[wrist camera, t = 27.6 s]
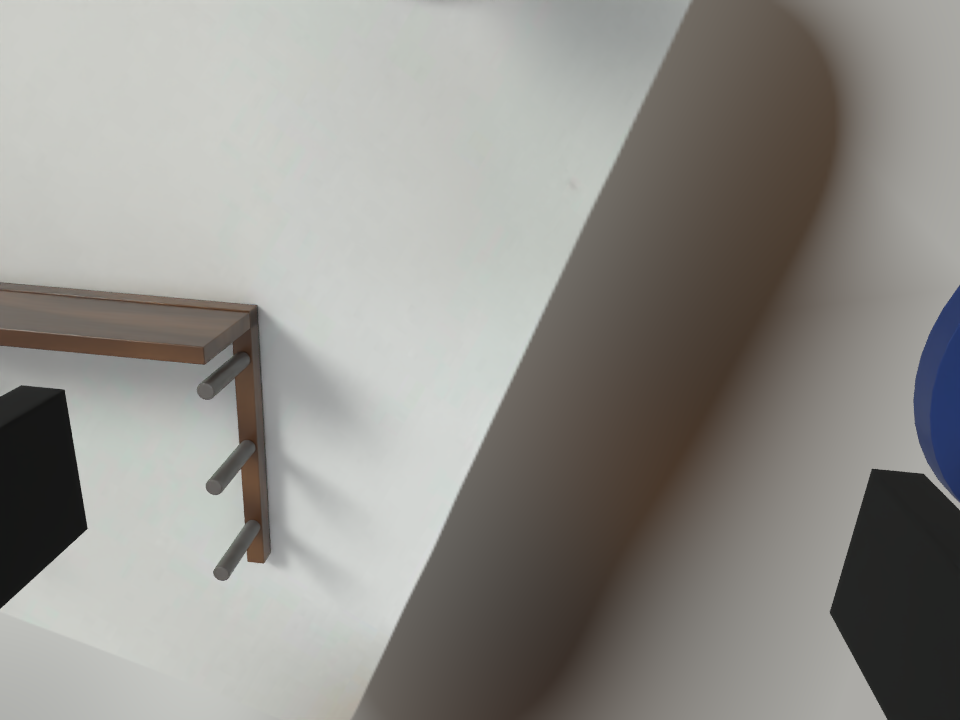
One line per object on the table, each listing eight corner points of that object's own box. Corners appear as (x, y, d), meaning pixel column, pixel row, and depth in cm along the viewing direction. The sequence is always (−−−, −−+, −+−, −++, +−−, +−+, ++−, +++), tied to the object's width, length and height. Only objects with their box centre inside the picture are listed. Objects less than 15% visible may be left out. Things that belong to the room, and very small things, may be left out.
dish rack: (270, 553, 49) (227, 626, 42) (-46, 518, 50) (-137, 584, 43) (257, 304, 42) (202, 345, 35) (-107, 273, 43) (-225, 305, 37)
